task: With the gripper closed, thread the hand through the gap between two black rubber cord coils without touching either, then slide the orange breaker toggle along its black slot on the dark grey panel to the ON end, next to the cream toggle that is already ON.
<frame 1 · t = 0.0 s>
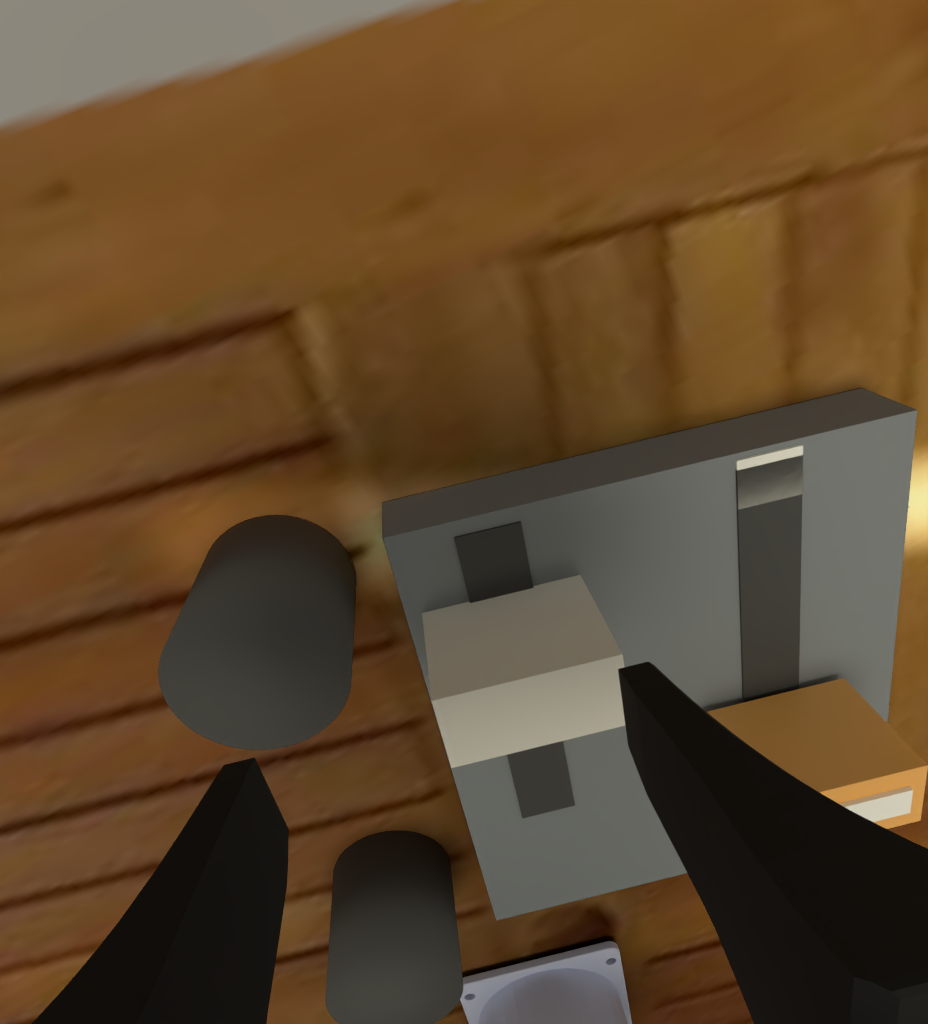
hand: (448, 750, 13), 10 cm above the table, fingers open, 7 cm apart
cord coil: (392, 871, 29), on the table
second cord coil: (280, 582, 23), on the table
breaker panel: (647, 661, 26), on the table
breaker paddle: (807, 765, 22), point 5 cm above the table, slide at 0.0 cm
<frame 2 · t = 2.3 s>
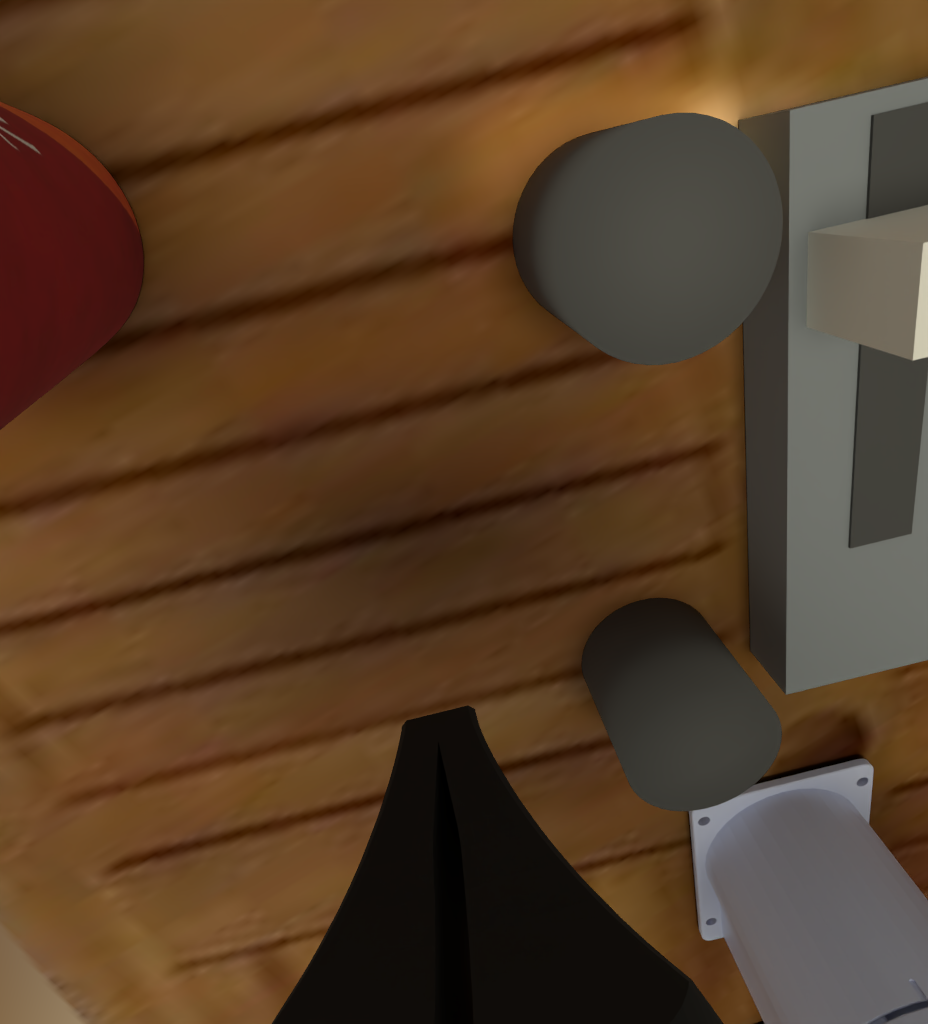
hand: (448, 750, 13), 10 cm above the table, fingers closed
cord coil: (646, 654, 26), on the table
coffee cup: (23, 242, 18), on the table
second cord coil: (601, 233, 19), on the table
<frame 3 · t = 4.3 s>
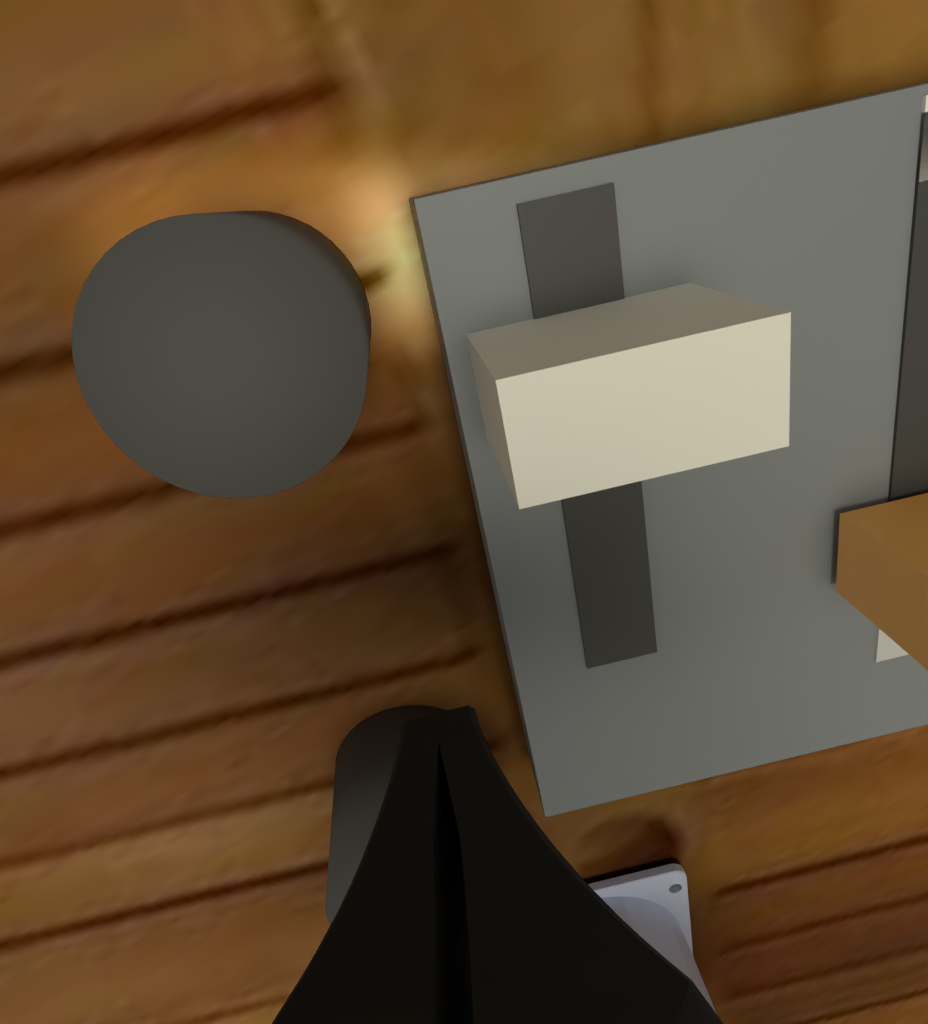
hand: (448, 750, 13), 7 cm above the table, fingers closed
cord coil: (410, 762, 23), on the table
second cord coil: (267, 323, 17), on the table
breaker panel: (748, 471, 20), on the table
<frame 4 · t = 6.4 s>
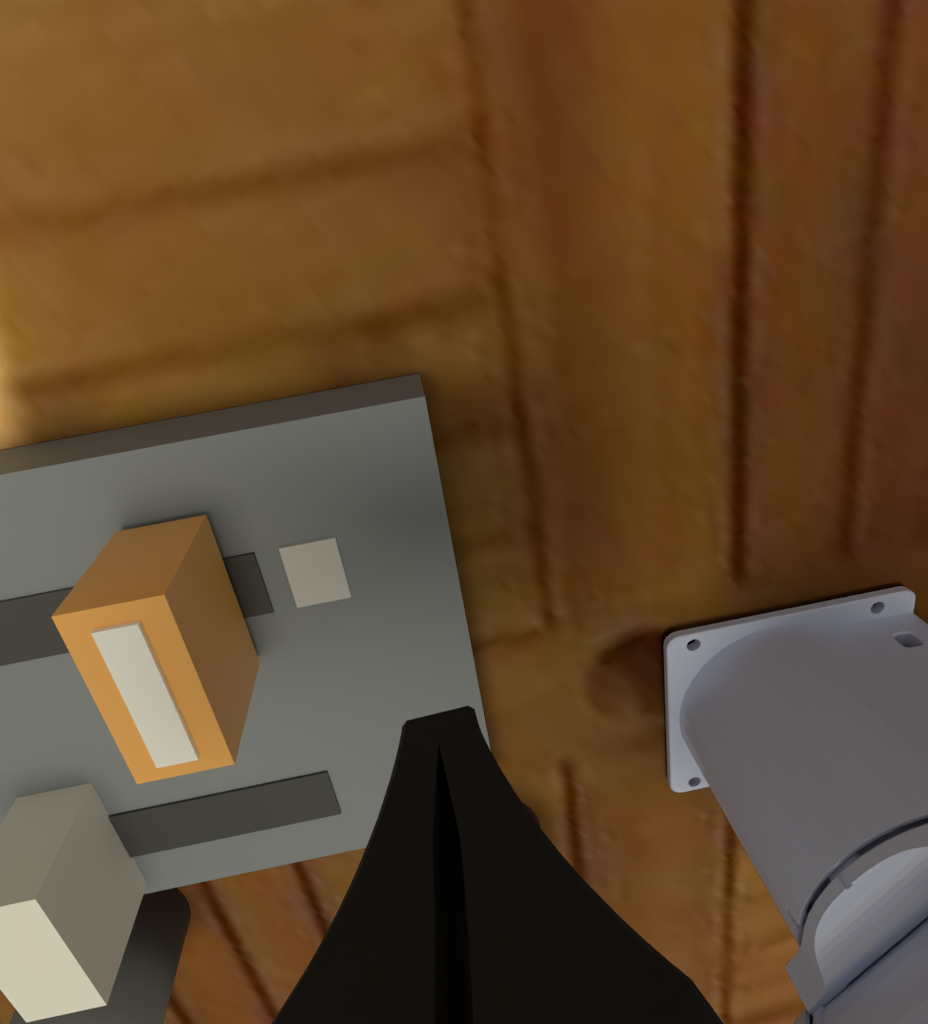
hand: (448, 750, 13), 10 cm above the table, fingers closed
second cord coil: (127, 914, 28), on the table
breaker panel: (202, 650, 23), on the table
breaker paddle: (172, 645, 17), point 5 cm above the table, slide at 0.0 cm
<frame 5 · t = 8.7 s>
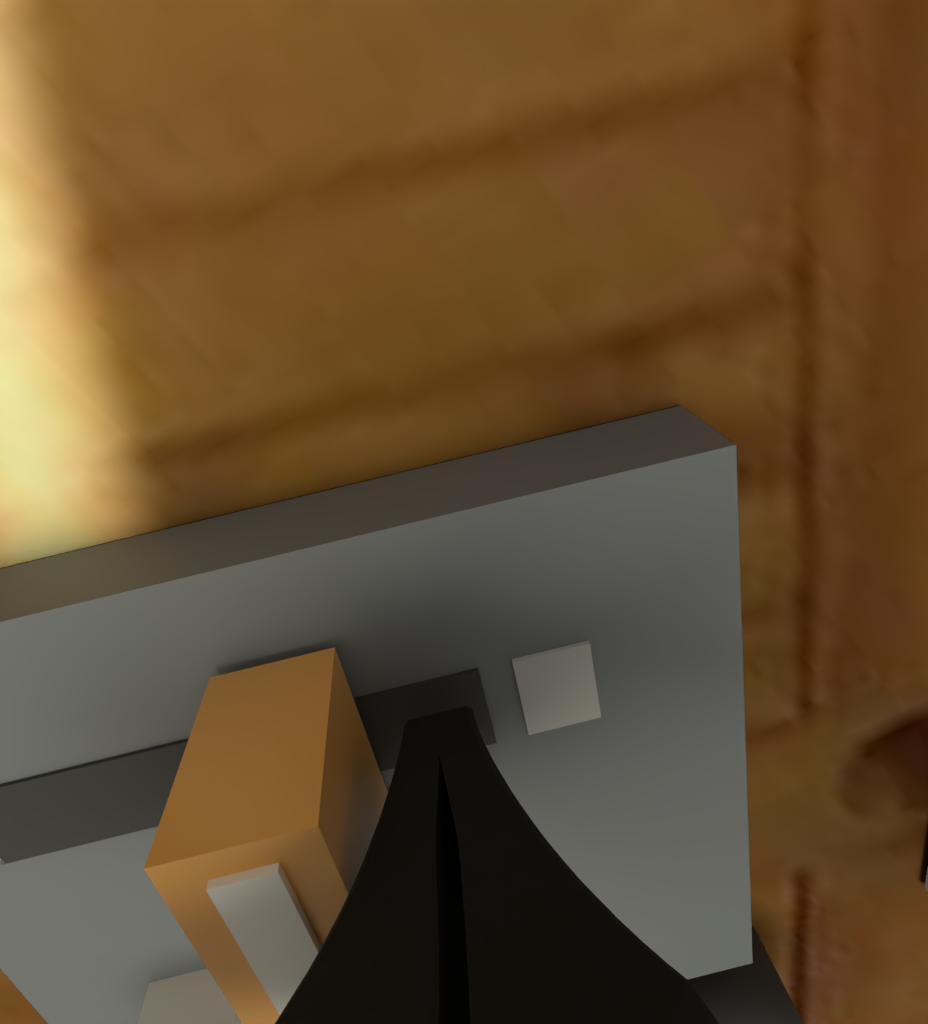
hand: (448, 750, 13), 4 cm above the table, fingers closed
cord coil: (689, 961, 23), on the table
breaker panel: (369, 771, 18), on the table
breaker paddle: (302, 846, 12), point 5 cm above the table, slide at 1.7 cm, touching gripper
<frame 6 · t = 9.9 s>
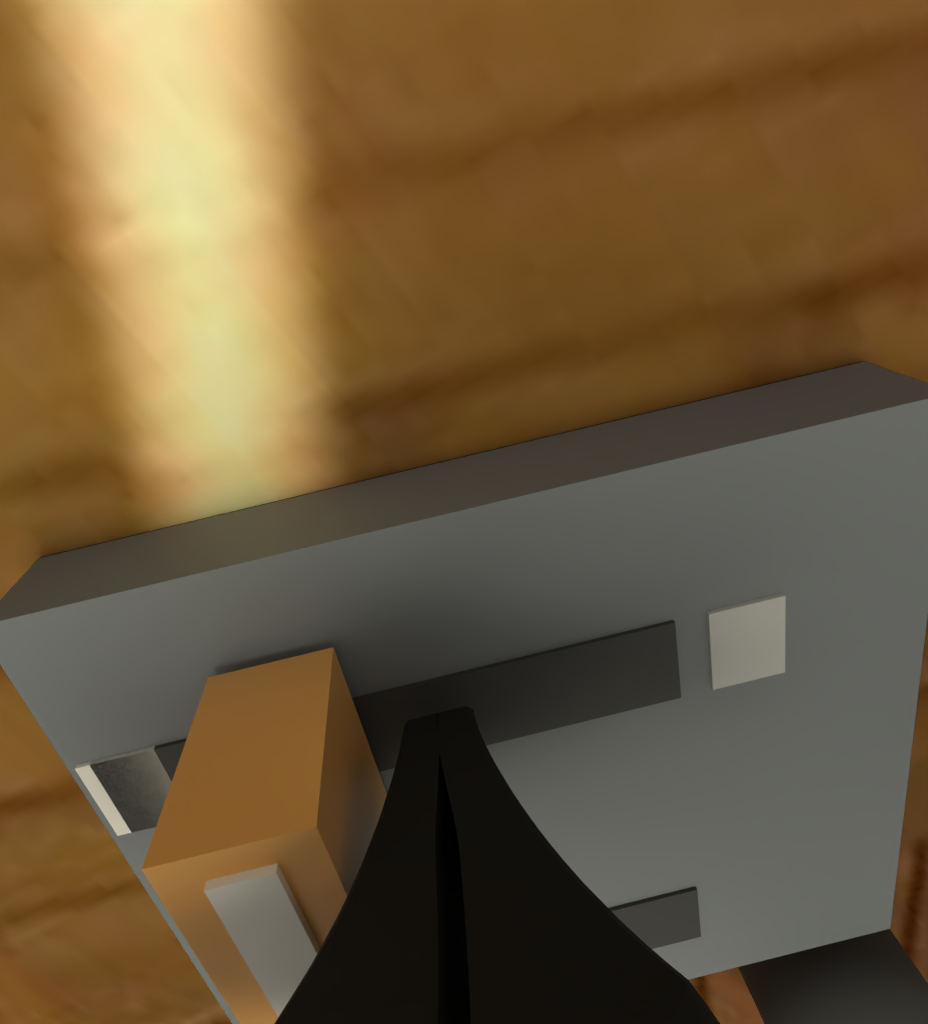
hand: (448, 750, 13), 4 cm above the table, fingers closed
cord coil: (803, 933, 23), on the table
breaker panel: (519, 734, 18), on the table
breaker paddle: (300, 846, 12), point 5 cm above the table, slide at 5.8 cm, touching gripper
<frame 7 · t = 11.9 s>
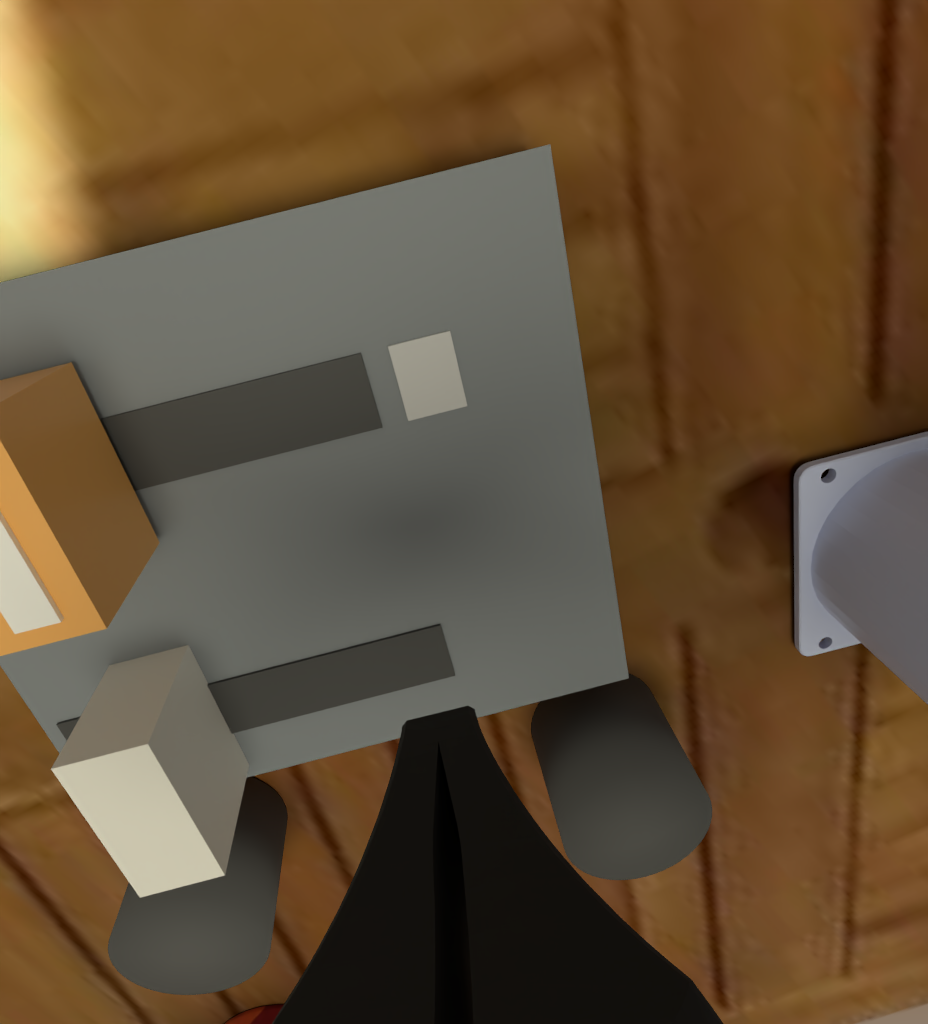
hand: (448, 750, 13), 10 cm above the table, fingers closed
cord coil: (593, 720, 27), on the table
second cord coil: (221, 818, 26), on the table
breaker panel: (294, 503, 21), on the table
breaker paddle: (35, 504, 15), point 5 cm above the table, slide at 5.8 cm
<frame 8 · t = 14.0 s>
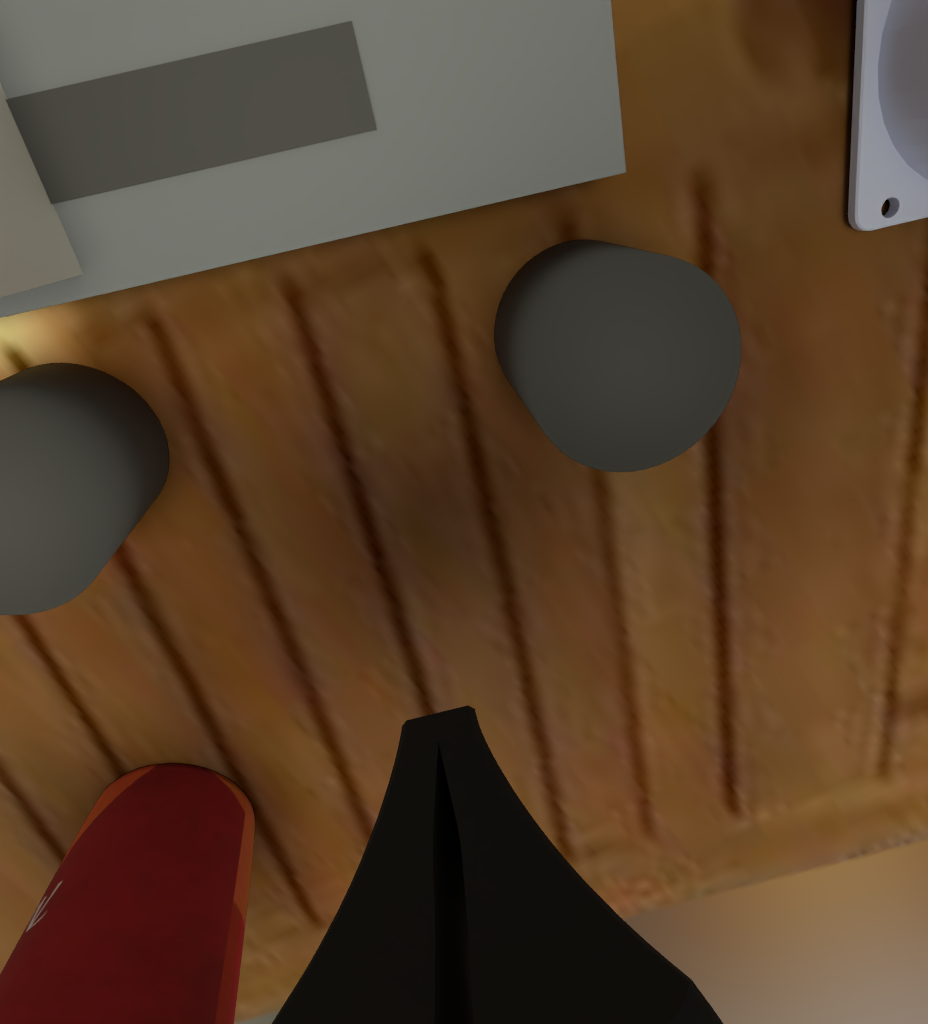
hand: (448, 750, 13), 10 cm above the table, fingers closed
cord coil: (577, 330, 20), on the table
coffee cup: (178, 817, 26), on the table
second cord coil: (78, 448, 20), on the table
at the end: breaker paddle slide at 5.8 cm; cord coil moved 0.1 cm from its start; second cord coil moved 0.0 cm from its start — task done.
